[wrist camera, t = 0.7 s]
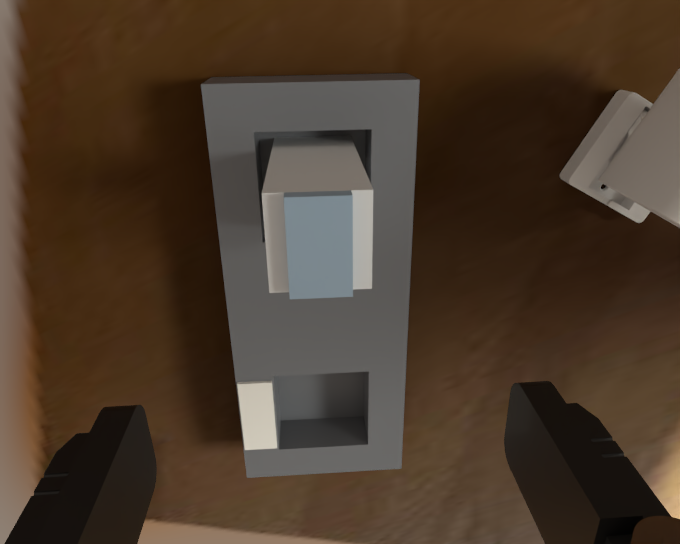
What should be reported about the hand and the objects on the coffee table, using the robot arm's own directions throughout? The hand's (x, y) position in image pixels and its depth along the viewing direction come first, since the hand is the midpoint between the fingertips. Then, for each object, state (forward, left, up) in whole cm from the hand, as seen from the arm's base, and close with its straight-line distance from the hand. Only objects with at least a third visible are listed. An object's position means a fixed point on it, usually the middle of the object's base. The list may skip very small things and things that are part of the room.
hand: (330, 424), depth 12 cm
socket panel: (0, +7, -20) cm, 21 cm away
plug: (0, 0, -19) cm, 19 cm away
